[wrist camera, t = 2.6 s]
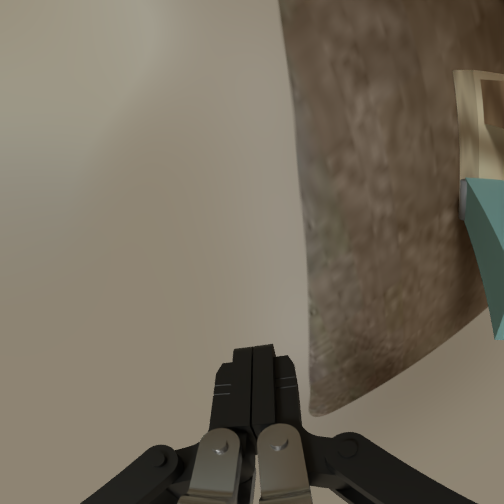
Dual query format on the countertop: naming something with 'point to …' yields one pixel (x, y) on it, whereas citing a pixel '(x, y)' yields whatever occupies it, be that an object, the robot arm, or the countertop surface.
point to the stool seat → (480, 123)
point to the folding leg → (487, 239)
